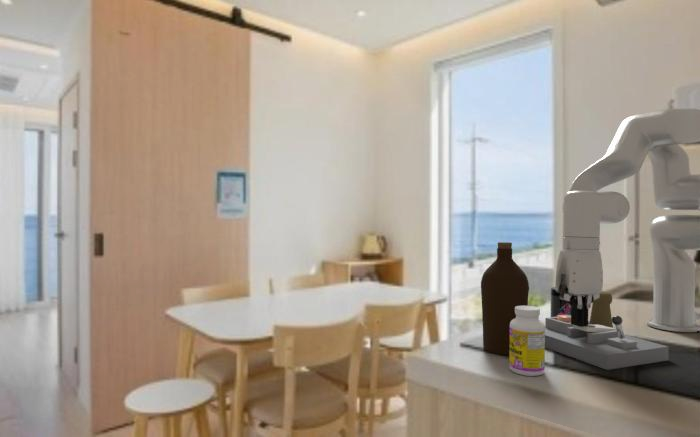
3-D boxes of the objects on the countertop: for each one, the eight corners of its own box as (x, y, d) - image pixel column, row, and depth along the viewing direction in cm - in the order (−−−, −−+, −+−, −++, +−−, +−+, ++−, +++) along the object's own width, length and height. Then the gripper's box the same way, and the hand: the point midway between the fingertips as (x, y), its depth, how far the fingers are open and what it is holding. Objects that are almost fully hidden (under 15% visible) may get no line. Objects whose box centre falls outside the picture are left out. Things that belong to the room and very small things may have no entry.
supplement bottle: (503, 366, 96) (504, 304, 96) (534, 365, 97) (534, 304, 97) (518, 377, 89) (518, 311, 89) (551, 376, 90) (551, 310, 90)
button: (566, 326, 118) (566, 314, 118) (581, 330, 114) (581, 317, 114) (553, 327, 116) (553, 315, 116) (567, 331, 112) (567, 319, 112)
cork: (617, 335, 121) (617, 293, 121) (592, 334, 122) (592, 293, 122) (609, 330, 127) (609, 290, 127) (585, 329, 128) (585, 289, 128)
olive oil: (503, 358, 101) (504, 244, 101) (471, 346, 111) (471, 241, 111) (538, 352, 106) (539, 243, 106) (504, 341, 115) (505, 240, 115)
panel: (578, 333, 123) (578, 313, 123) (668, 360, 100) (668, 335, 100) (523, 340, 116) (523, 318, 116) (607, 369, 94) (607, 342, 94)
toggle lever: (620, 334, 102) (615, 313, 101) (628, 336, 100) (623, 315, 100) (614, 338, 101) (608, 317, 101) (622, 340, 100) (616, 319, 99)
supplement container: (549, 326, 131) (549, 289, 131) (550, 321, 137) (550, 286, 137) (576, 329, 128) (576, 291, 128) (576, 323, 134) (576, 288, 134)
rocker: (601, 329, 111) (601, 323, 111) (615, 333, 107) (616, 327, 107) (572, 327, 108) (573, 321, 108) (587, 331, 104) (587, 325, 104)
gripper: (591, 244, 112) (590, 320, 112) (542, 244, 107) (541, 323, 107) (619, 245, 105) (618, 327, 105) (568, 245, 100) (567, 331, 100)
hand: (579, 325), depth 106 cm, fingers closed
